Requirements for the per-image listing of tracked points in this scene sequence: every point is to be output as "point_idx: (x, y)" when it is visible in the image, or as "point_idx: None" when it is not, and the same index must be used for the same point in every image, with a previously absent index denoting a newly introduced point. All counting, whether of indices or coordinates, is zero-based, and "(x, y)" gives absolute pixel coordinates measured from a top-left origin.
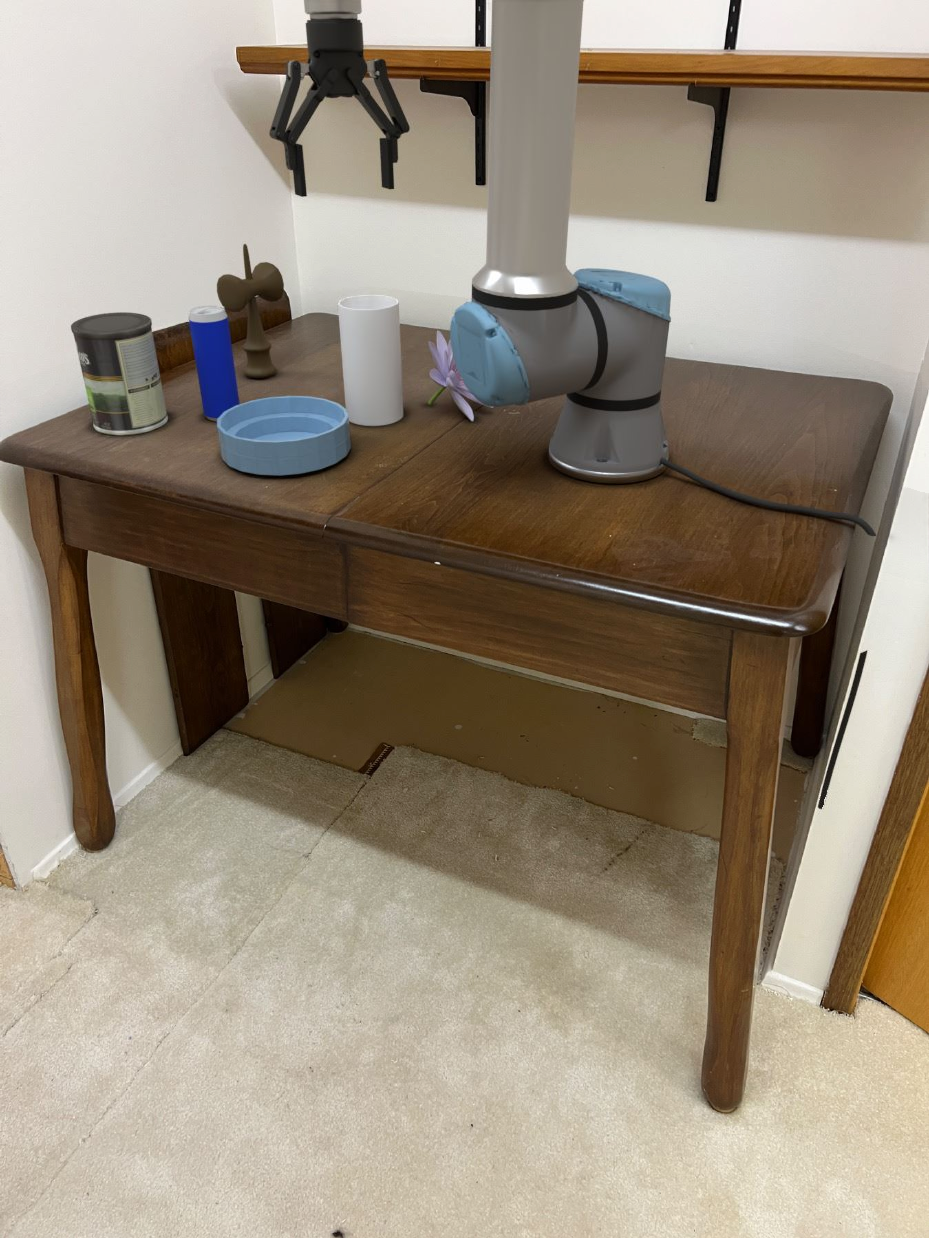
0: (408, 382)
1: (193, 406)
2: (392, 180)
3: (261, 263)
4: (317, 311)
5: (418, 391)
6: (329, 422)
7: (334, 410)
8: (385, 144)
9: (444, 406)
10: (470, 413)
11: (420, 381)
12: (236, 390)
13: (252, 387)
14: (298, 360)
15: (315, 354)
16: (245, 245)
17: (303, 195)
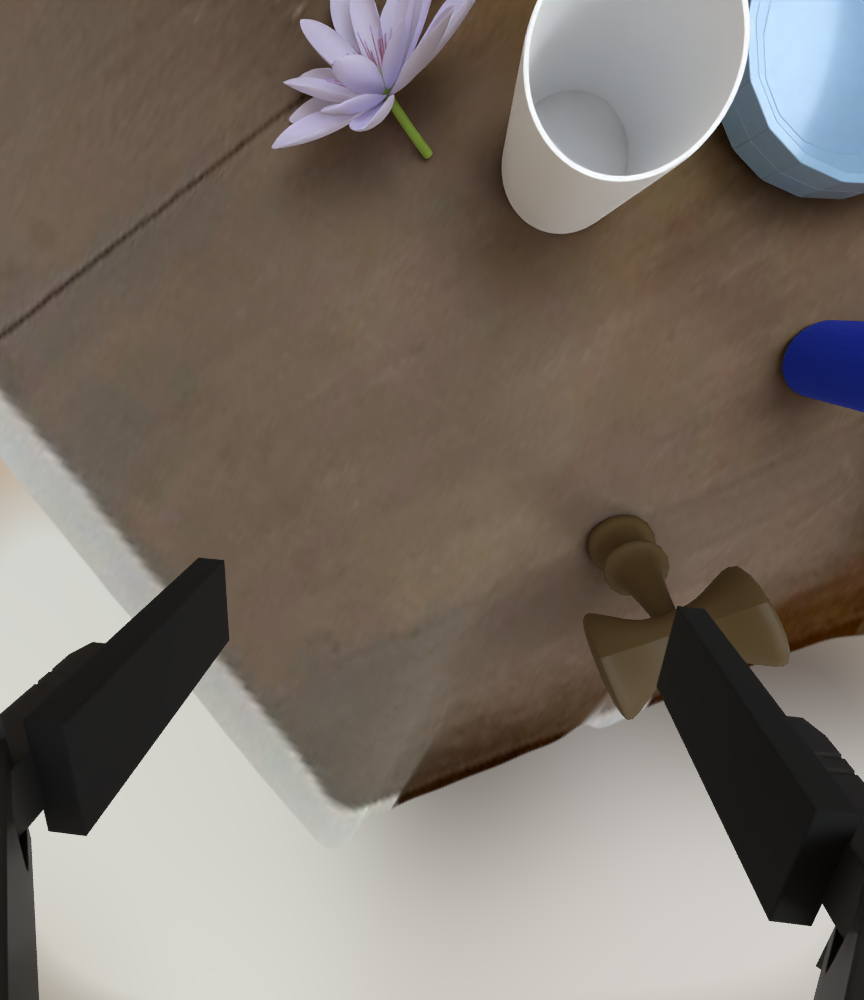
0: (390, 329)
1: (825, 449)
2: (186, 576)
3: (630, 704)
4: (334, 812)
5: (401, 261)
6: (760, 32)
7: None
8: (92, 732)
9: None
10: (388, 13)
11: (365, 320)
12: (826, 337)
13: (670, 487)
14: (510, 582)
15: (463, 596)
16: None
17: (698, 610)
